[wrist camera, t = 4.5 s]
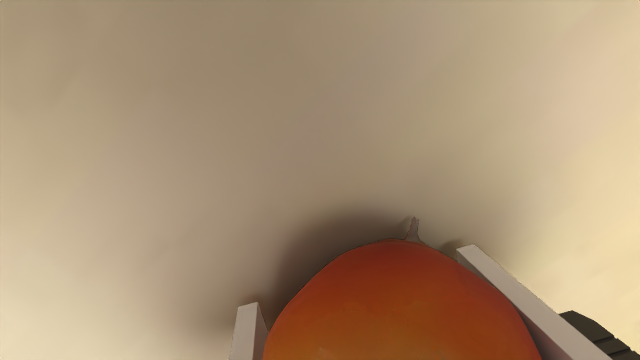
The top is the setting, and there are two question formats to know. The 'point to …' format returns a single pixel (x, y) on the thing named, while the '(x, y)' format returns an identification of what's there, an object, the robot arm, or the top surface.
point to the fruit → (398, 310)
